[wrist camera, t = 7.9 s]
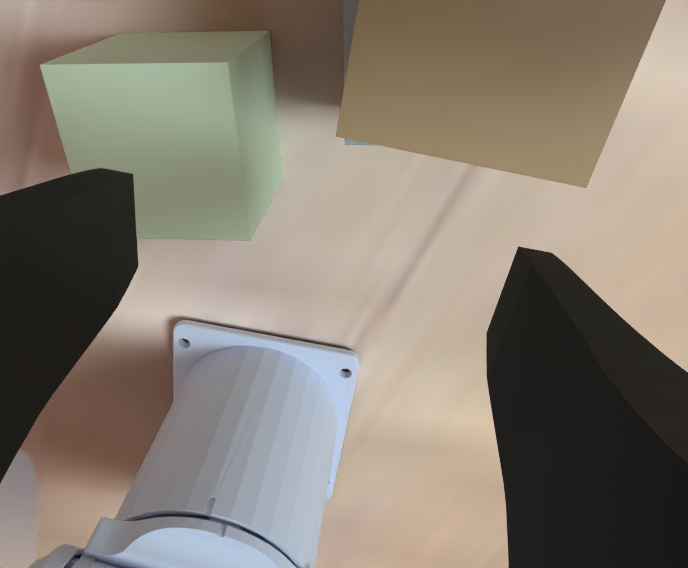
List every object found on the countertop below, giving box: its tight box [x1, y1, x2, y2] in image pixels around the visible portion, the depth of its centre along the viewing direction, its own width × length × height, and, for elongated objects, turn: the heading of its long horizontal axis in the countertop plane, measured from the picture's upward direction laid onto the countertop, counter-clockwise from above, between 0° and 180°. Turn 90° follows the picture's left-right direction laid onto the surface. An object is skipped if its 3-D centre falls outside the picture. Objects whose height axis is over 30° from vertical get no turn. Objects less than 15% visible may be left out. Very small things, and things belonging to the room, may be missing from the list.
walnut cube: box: [336, 0, 666, 188], centre depth 12 cm, size 5×5×5 cm
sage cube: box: [40, 31, 283, 241], centre depth 19 cm, size 5×5×5 cm
